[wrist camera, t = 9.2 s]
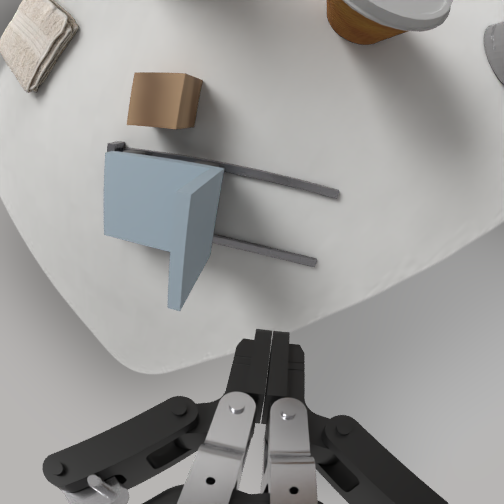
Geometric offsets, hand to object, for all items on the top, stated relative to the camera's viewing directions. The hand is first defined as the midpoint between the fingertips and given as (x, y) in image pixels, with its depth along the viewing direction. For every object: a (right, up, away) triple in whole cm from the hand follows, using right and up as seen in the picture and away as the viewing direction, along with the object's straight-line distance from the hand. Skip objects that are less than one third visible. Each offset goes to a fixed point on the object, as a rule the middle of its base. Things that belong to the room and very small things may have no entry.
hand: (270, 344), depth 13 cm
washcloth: (-31, +35, +9) cm, 48 cm away
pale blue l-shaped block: (-10, +10, +17) cm, 22 cm away
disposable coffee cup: (+10, +27, +6) cm, 29 cm away
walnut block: (-9, +19, +13) cm, 25 cm away
